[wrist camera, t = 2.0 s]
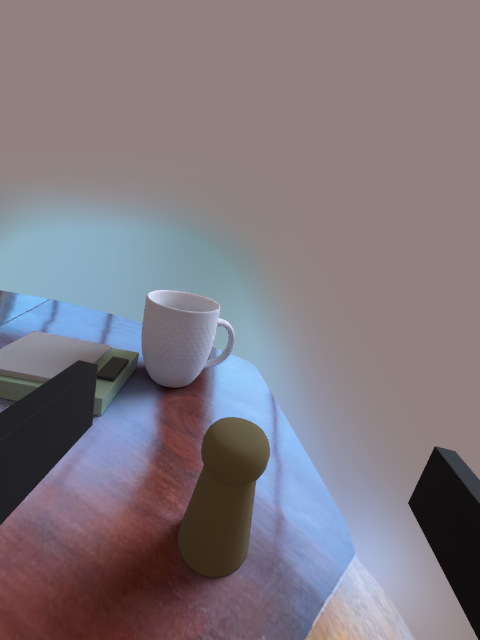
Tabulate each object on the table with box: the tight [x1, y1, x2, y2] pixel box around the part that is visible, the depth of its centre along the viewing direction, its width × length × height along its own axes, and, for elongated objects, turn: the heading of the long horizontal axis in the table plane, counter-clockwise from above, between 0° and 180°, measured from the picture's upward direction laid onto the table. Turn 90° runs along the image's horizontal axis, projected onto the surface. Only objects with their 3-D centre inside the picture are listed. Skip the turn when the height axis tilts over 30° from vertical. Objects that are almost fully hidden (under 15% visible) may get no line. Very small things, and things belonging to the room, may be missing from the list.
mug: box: [142, 290, 235, 388], centre depth 50 cm, size 15×11×13 cm
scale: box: [0, 331, 139, 416], centre depth 44 cm, size 16×14×3 cm
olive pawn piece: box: [177, 417, 270, 577], centre depth 25 cm, size 6×6×11 cm
